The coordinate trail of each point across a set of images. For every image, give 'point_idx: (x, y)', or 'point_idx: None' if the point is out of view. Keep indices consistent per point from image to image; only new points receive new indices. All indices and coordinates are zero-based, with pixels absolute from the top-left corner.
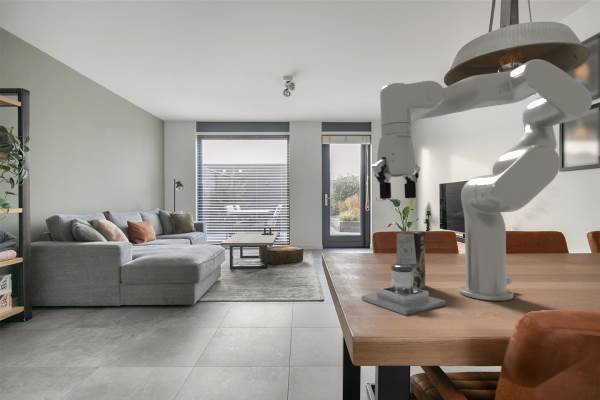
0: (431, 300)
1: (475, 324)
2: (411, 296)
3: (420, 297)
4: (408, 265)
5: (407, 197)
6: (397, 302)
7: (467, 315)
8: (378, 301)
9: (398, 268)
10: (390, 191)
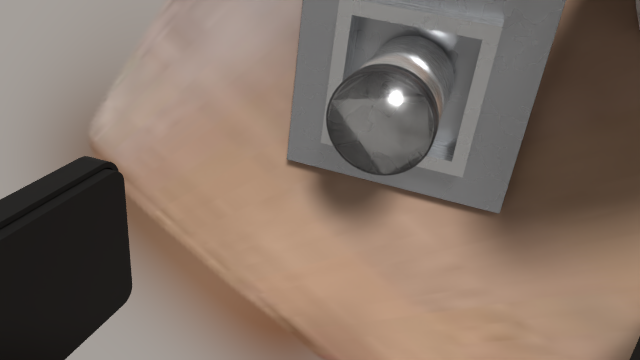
0: (464, 174)
1: (372, 312)
2: None
3: None
4: (409, 145)
5: (635, 349)
6: None
7: (434, 283)
8: (299, 37)
9: (329, 131)
10: (62, 346)
